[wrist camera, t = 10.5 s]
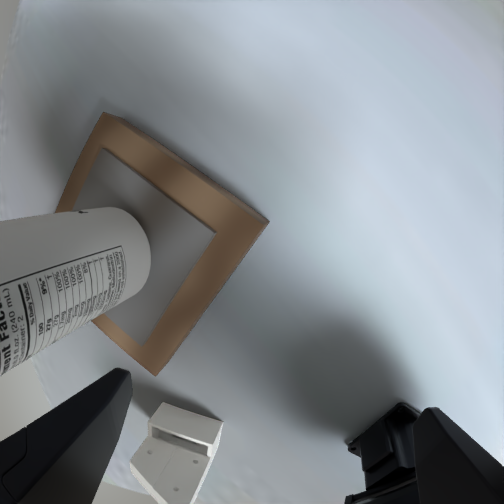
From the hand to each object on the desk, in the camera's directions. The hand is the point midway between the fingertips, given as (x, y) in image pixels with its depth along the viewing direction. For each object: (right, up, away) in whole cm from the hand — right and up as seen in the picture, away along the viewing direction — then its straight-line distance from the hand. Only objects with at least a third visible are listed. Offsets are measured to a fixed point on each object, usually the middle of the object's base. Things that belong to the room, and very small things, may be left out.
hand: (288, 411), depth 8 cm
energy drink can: (-10, +4, +12) cm, 16 cm away
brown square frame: (-9, +5, +15) cm, 18 cm away
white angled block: (-7, -11, +17) cm, 22 cm away
